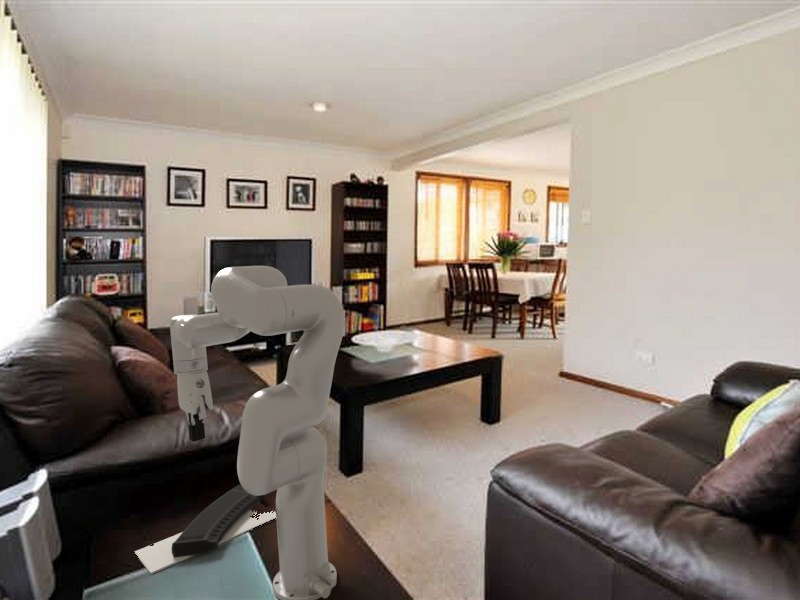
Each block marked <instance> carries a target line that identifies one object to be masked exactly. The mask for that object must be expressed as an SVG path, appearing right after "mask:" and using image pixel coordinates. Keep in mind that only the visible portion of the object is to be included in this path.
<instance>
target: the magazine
mask: <svg viewBox="0 0 800 600" xmlns="http://www.w3.org/2000/svg"><path fill="white" fill-rule="evenodd" d="M264 499H266V494H265V495H260V496H256V495H251V494H249V493H248V492H246V491H245V490H244V489H243V487H242V485H241V483H240V484H238V485H236V486H234V487H233V488H232V489H230V490H228V491H227V492H225V493H224V494H223V495H221V496H219V498H217V499H216V500H214V501H213V502H212V503H211V504H209V505H208V506H207V507H206V508H204V509H203V511H201V512H200V513H199V514H198V515H197V516H196V517H195V518H194V519H193V520H192V521H191V522H190V523H189V524H188V526H186V528H185V529H184V530H183V531H182V532H183V533H182V532H181V533H182V534H181V535H180V536H179V537H178V539H177V540H176V541H175V542H173V543H172V554H173V557H174V558H175V557H183V556H191V555H194V556H199V555H207V554H208V553H209V552H211V551H215V550H217V549H218V547H219V545H220V544H219V542H220V540H221V539H222V537H223V536H224V535H225V533H226V532H227V531H228V530H229V529H230V527H231V526H232V525H233V524H234V523H235V522H236V521H237V519H238V518H239V517H241V516H242V515H243V514H244V513H245V512H246V511H247V510H248V509H249V508H251V507H252V506H253V505H254V504H256V503H258V502H261V500H262V501H263V500H264ZM218 544H219V545H218Z"/></svg>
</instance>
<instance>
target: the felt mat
mask: <svg viewBox="0 0 800 600" xmlns="http://www.w3.org/2000/svg"><path fill="white" fill-rule="evenodd" d="M273 511H274V512H273ZM273 511H271V512H270V513H269V512H267V513H265V512H264V513H263V514H261V513H260V514H258V515H260V516H259V517H257V518H259V519H258V520H257V518H255V517H256V516H255V515H256V514H257V511H256V512H255V510H254V511H253V512H252V510H250V509H248V510H247V511H246V512H245V513H244V514H243V515H242V516H241V517H239V518H238V519H237V521H236V522H235V523H234V524H233V525H232V526H231V527H230V529H229V530H228V531H227V532H226V533H225V535H224V536H223V537H222V539H221V540H220V542H219V544H218V546H219V545H221V544H223V543H225V542H227V541H230V540H233V539H234V538H236V537H239V536H241V535H243V534H246V533H248V532H250V531H252V530H254V529H253V528H255V527H257V526H259V525H261V526H263V525H262V524H264V523H266V522H268V523H270V522H271V521H270V520H273V519H275V518H276V510H273ZM272 512H273V513H272ZM253 514H255V515H253ZM252 515H253V516H255V517H254V518H252V517H250V516H252ZM258 515H257V516H258ZM275 520H276V519H275ZM269 521H270V522H269ZM273 521H274V520H273ZM266 524H267V523H266ZM264 525H265V524H264ZM259 527H260V526H259ZM257 528H258V527H257ZM255 529H256V528H255ZM249 530H250V531H249ZM247 531H248V532H247ZM245 532H246V533H245ZM182 533H183V531H182V532H179V533H176V534H175V535H173V536H169V537H167V538H165V539H161V540H159V541H157V542H155V543H153V544H154V545H153V546H150V545H151V544H150V545H147V546H145V547H143V548H140V549H137V550H134V552H135V553H134V555H135V554H136V555H137V556H138V557H137V556H136V555H135V556H136V557H137V558H139V559H138V560H139V562H140V563H141V564H142V565H143V566H144V567H145V568H146V570H147V571H148V573H149V574H150V575H153V574H156V573H157V572H160V571H163V570H164V569H166V568H169V567H171V566H173V565H176V564H178V563H180V562H182V561H185V560H186V559H187V560H188V559H189V558H191V557H194V556H195V555H191V556H183V557H175V558H174V557H173V554H172V543H173V542H175V541H176V540H177V539H178V537H179V536H180V535H181V534H182Z"/></svg>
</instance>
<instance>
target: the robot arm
mask: <svg viewBox="0 0 800 600" xmlns="http://www.w3.org/2000/svg"><path fill="white" fill-rule="evenodd" d="M210 293H211V298H212V301H213V303H214V304H215V306H216V311H217V312H212V313H211V312H210V313H203V314H182V315H176V316H173V317H171V319H170V321H169V329H170V330H169V331H170V341H171V351H172V352H171V353H172V354H171V355H172V361H173V362H172V363H173V364H172V365H173V374H174V375H176V376H177V377H176V379H177V380H176V381H177V382H176V383H177V399H178V400H177V401H178V405H179V408H180V410H182V411H184V413H185V415H186V420H187V424H188V425H187V426H188V428H187V429H188V437H189V441H191V442H193V443H194V442H198V441H201V440H204V439H205V438H206V434H205V433H206V432H205V420H206V419H207V412H206V411H208V412H211V411H213V409H214V404H213V396H212V390H211V389H212V388H211V383H210V379H209V378H210V377H209V375H208V370H209V368H208V367H209V365H208V357H207V356H208V355H207V347H211V346H215V345H222V344H227V343H228V344H229V343H232V342H236V341H237V340H240V339H241V338H243V337H244V336H246V335H247V334H249V333H250V332H252V333H254V334H256V335H259V336H265V337H268V336H276V335H281V334H283V335H284V334H288V333H294V332H300V331H303V334H302V336H300V338H299V339H298V340H297V342H296V343H295V345H294V347H293V349H292V351H291V353H290V356H289V358H288V363H287V370H286V375H285V379H283V381H282V382H281V383H279V384H276V385H272V386H268V387H266V388H265V387H264V388H262V389H260V390H258V391H256V392H255V393H254V394H252V395H251V396H250V397H249V399H248V400H247V402H246V404H245V406H244V409H243V413H242V418H241V419H242V420H241V425H240V426H241V427H240V435H239V442H238V443H239V444H238V449H237V457H236V460H237V461H236V471H237V476H238V481H239V483H240V484H241V485H242V487H243V489H244V490H245V491H246V492H248V493H249V494H251V495H256V496H260V495H265V496H266V495H267V494H270V493H271V492H274V491H276V496H275V512H276V519H275V520H276V532H277V536H276V537H277V547H278V561H279V564H278V565H279V571H278V572H276V575H275V576H274V578H273V581H272V591H273V594H274V595H275V597H276V598H277V599H279V600H319V599H321V598H323V599H327V598H328V597H329V596H330V595H331V593H332V590H333V588H334V587H335V586H336V585H337V581H338V580H337V578H338V576H337V575H338V574H337V569H336V567H335V565H333V564H332V563H331V562H329V555H328V537H327V523H326V522H327V521H326V508H325V506H326V504H325V471H326V470H325V469H326V465H327V464H326V462H327V457H328V455H327V454H328V453H327V450H328V449H327V442H326V440H325V437H324V435H323V434H322V432H321V431H320V430H319V429H318V428H316V427H315V426H317V425H319V424H320V423H321V422H322V421H323V420H324V419H325V416H326V414H327V409H328V404H329V400H330V394H331V388H332V382H333V377H334V371H335V364H336V361H337V360H336V359H337V357H338V352H339V350H340V348H341V347H340V346H341V343H342V340H343V335H344V330H345V314H344V313H345V312H344V310H343V306H342V304H341V301H340V299H339V298H338V296H337V295H336V294H335V293H334V291H332V290H331V289H330V288H327V287H326V286H323V285H318V284H294V285H288V281H287V278H286V276H285V275H284V274H283V273H282V272H281V271H280V270H279V269H278V268H275V267H273V266H269V265H248V266H247V265H245V266H244V265H243V266H229V267H225V268H223V269H221V270H220V271H218V272H217V274H216V275H215V276H214V277H213V280H212V282H211V288H210Z"/></svg>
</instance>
